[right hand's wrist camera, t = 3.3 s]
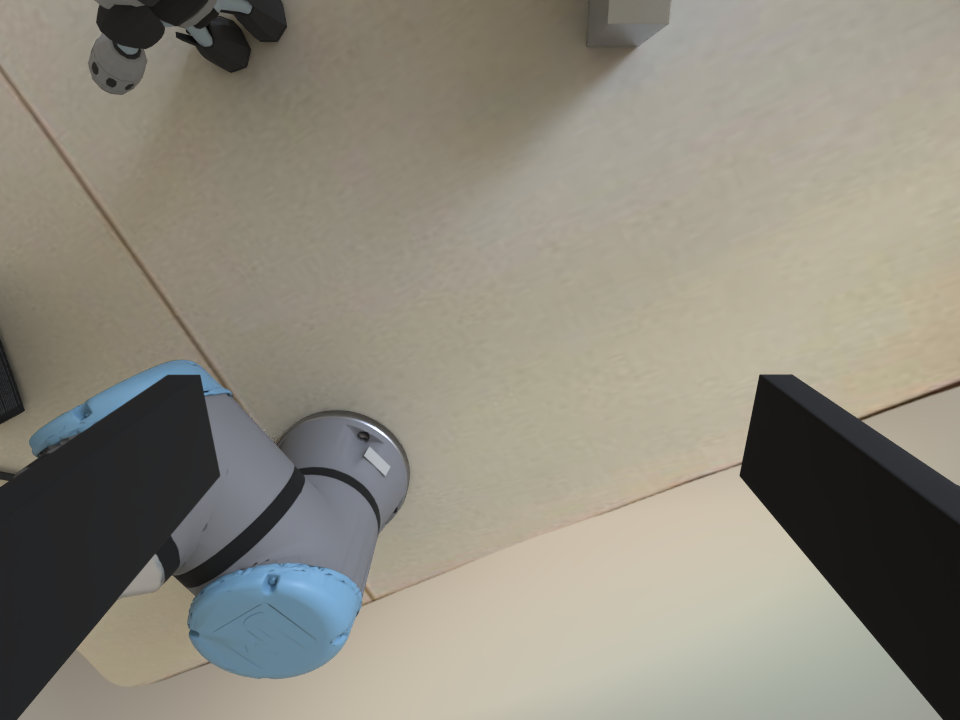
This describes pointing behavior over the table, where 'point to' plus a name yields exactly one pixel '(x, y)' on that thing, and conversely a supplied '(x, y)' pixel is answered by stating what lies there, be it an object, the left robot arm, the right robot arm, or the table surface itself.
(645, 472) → the table surface
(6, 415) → the graphics card box
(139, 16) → the robot
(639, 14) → the bar
